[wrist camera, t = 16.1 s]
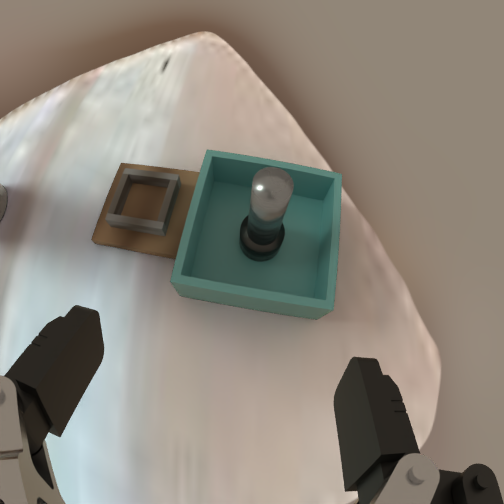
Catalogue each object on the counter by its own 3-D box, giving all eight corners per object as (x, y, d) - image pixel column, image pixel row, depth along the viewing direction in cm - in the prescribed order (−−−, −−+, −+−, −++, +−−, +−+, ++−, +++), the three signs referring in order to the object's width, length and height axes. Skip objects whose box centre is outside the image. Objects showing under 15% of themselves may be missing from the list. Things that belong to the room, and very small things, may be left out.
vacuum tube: (235, 257, 35) (237, 203, 23) (243, 219, 36) (249, 155, 25) (277, 265, 35) (299, 215, 23) (283, 227, 36) (305, 166, 25)
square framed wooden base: (95, 243, 35) (84, 232, 32) (123, 168, 39) (116, 153, 36) (179, 259, 35) (175, 249, 32) (201, 177, 39) (199, 163, 36)
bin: (180, 295, 34) (170, 281, 28) (209, 179, 39) (206, 149, 33) (316, 319, 34) (333, 310, 28) (327, 200, 39) (341, 174, 33)
